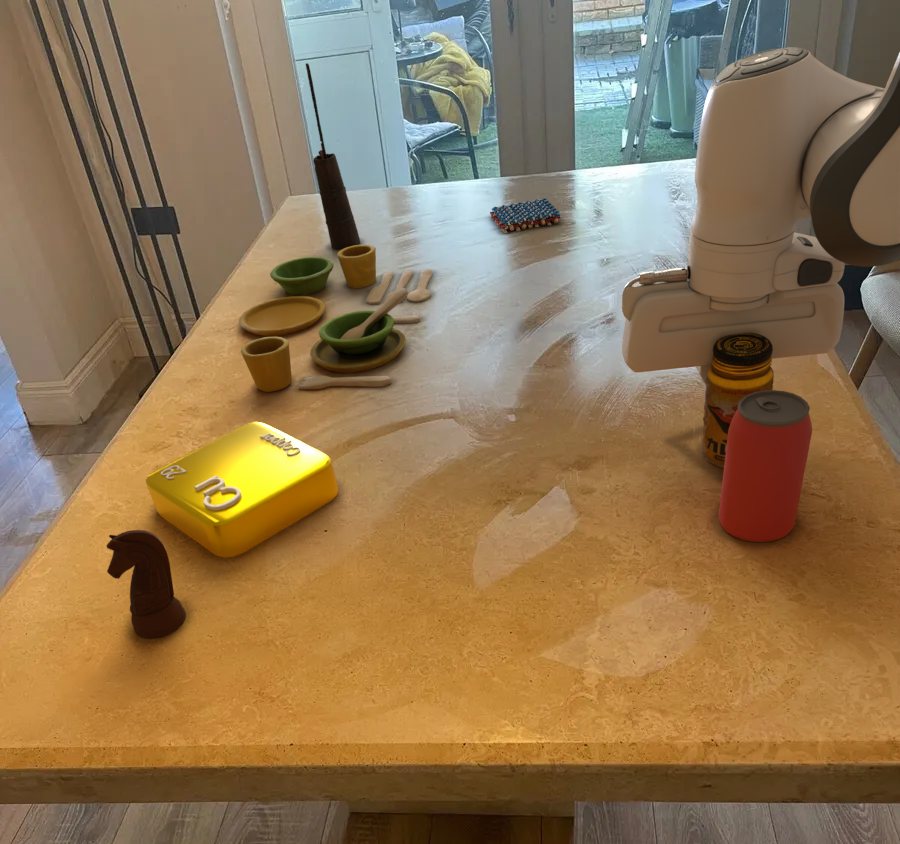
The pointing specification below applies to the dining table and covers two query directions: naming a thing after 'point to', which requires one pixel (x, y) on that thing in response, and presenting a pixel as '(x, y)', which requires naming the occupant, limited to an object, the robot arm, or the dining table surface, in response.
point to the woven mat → (524, 215)
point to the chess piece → (147, 583)
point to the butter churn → (333, 193)
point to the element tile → (242, 488)
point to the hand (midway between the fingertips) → (721, 399)
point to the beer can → (765, 465)
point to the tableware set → (329, 322)
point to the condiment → (732, 386)
